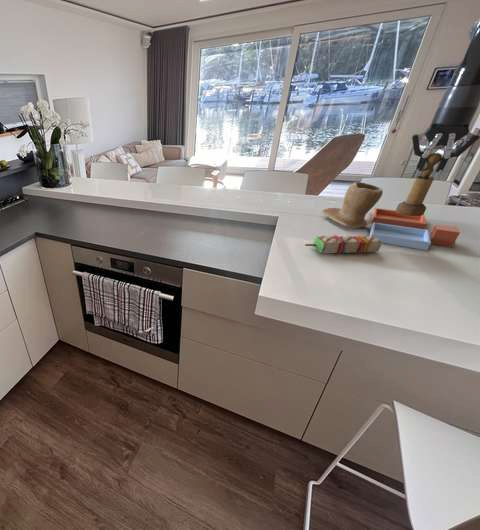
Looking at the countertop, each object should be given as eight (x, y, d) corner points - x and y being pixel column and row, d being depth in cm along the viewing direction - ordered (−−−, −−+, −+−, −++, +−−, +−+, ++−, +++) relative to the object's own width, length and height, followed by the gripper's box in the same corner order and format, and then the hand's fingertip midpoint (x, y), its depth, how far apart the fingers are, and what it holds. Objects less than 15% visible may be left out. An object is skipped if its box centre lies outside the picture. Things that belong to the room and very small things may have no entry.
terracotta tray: (421, 220, 107) (424, 213, 106) (423, 231, 100) (426, 224, 98) (372, 214, 115) (375, 208, 114) (371, 223, 108) (373, 217, 106)
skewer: (366, 246, 94) (372, 232, 91) (380, 255, 88) (386, 240, 86) (299, 247, 96) (302, 233, 94) (307, 256, 91) (311, 242, 88)
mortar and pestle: (390, 211, 93) (415, 153, 84) (403, 207, 95) (429, 150, 86) (415, 217, 88) (444, 156, 79) (428, 213, 90) (458, 153, 81)
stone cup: (377, 229, 104) (394, 187, 96) (343, 230, 104) (357, 190, 97) (349, 214, 117) (362, 177, 109) (319, 216, 117) (330, 179, 110)
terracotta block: (449, 241, 93) (457, 226, 90) (451, 247, 89) (460, 232, 87) (428, 237, 95) (435, 223, 93) (429, 243, 92) (437, 229, 90)
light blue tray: (424, 237, 96) (428, 230, 95) (427, 250, 89) (431, 242, 87) (370, 228, 104) (373, 222, 103) (369, 240, 97) (371, 233, 95)
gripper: (423, 107, 78) (397, 172, 87) (502, 104, 70) (464, 175, 79) (421, 105, 83) (396, 166, 91) (495, 102, 75) (460, 170, 83)
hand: (428, 170), depth 85 cm, fingers closed on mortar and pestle, 3 cm apart
